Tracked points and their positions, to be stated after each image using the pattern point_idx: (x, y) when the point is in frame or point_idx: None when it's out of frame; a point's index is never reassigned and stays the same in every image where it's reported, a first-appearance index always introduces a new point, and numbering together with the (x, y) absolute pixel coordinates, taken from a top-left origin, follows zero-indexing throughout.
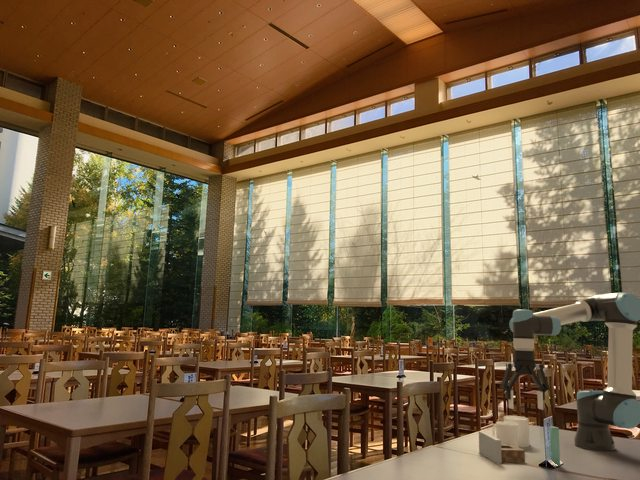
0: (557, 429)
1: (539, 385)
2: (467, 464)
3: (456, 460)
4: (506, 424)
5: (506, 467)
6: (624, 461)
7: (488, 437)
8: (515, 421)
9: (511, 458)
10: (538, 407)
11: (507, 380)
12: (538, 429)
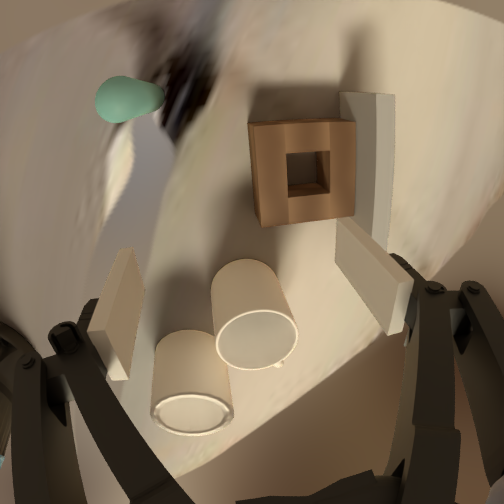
0: (109, 80)
1: (101, 382)
2: (431, 85)
3: (443, 126)
4: (245, 361)
5: (339, 49)
6: None
7: (391, 163)
8: (203, 387)
9: (298, 120)
10: (141, 286)
11: (495, 335)
12: None
